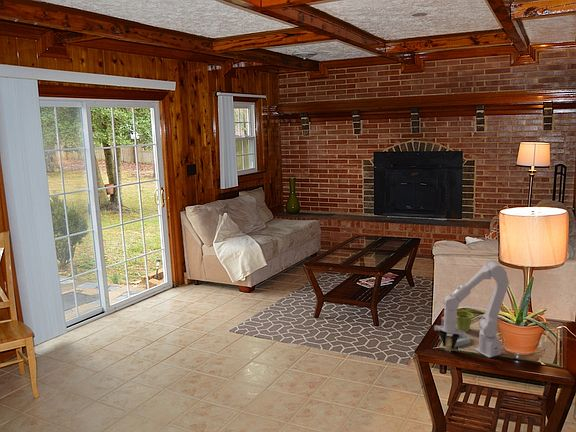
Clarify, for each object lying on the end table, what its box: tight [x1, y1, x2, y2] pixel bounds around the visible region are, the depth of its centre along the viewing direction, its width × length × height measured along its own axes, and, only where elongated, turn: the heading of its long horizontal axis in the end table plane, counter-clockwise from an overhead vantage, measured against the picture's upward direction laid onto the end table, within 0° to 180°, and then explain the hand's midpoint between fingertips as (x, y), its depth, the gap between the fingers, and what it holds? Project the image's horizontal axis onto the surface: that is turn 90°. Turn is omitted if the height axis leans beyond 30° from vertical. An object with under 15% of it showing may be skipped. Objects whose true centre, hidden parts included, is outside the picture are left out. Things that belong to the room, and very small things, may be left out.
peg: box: [444, 336, 454, 353], centre depth 248 cm, size 4×4×7 cm
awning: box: [440, 316, 458, 326], centre depth 264 cm, size 4×7×10 cm, turn 115°
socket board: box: [438, 333, 472, 348], centre depth 259 cm, size 11×10×2 cm
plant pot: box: [456, 310, 474, 333], centre depth 271 cm, size 9×9×9 cm
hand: (449, 346), depth 248 cm, fingers closed on peg, 4 cm apart
